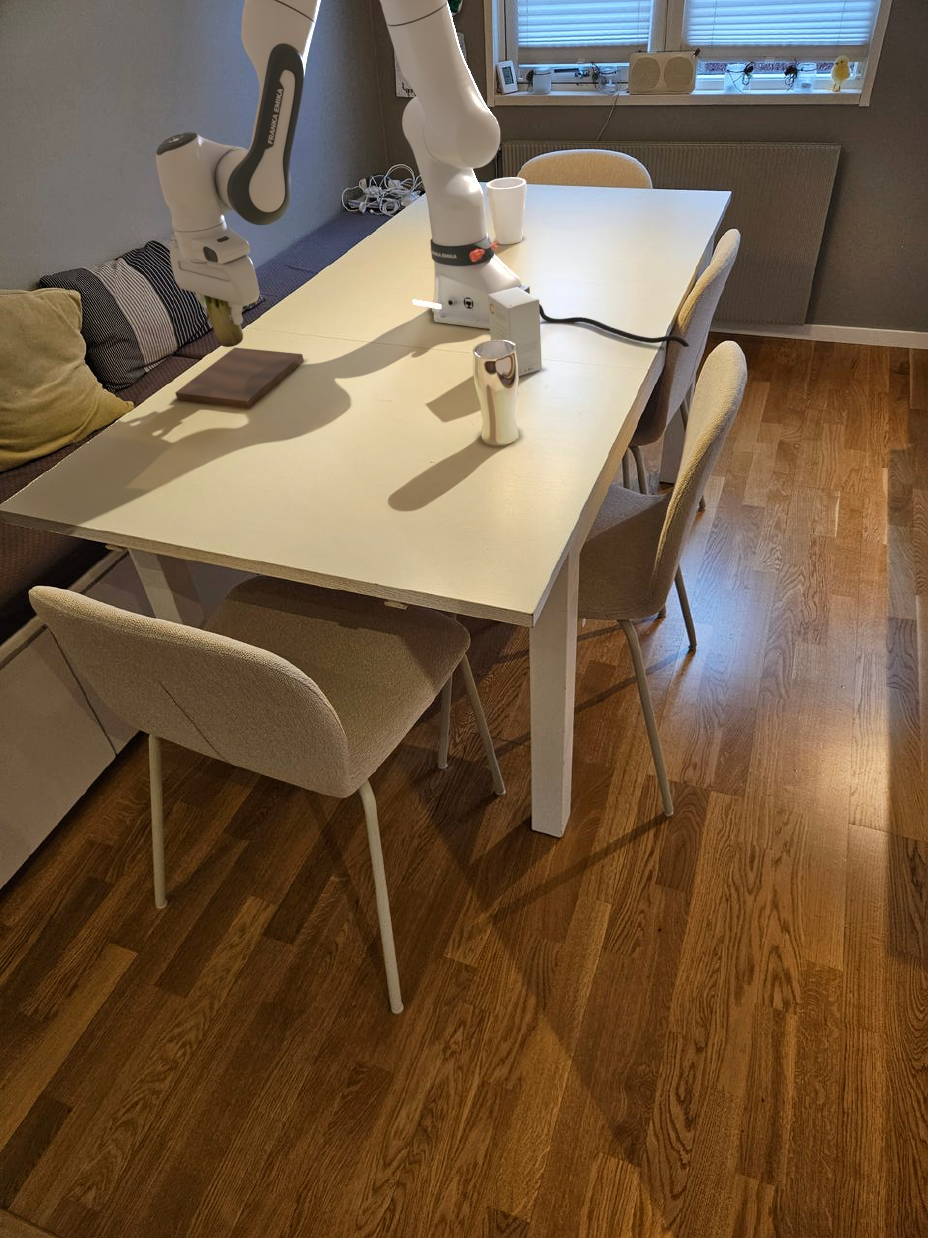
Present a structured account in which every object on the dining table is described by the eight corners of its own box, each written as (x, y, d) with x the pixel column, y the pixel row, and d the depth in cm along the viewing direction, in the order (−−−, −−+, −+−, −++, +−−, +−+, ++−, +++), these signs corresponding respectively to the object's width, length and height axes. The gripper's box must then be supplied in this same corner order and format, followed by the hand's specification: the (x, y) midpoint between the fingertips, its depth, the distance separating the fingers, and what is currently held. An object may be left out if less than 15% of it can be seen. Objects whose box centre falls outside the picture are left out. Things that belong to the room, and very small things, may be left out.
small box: (542, 369, 158) (540, 299, 150) (512, 379, 156) (508, 308, 148) (521, 354, 164) (517, 285, 155) (491, 363, 162) (486, 294, 154)
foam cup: (535, 235, 214) (533, 178, 206) (516, 247, 209) (513, 189, 200) (502, 232, 219) (498, 176, 210) (483, 244, 213) (479, 187, 205)
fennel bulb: (213, 343, 162) (194, 278, 155) (236, 335, 164) (219, 271, 157) (226, 352, 159) (208, 286, 151) (250, 343, 161) (233, 278, 153)
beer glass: (476, 428, 144) (469, 342, 134) (518, 423, 144) (513, 336, 134) (481, 449, 139) (473, 361, 129) (524, 444, 139) (519, 355, 129)
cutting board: (236, 354, 176) (234, 347, 175) (304, 360, 171) (302, 353, 170) (177, 399, 162) (174, 392, 162) (248, 408, 157) (246, 401, 156)
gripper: (153, 238, 153) (176, 315, 162) (225, 255, 143) (246, 336, 152) (182, 227, 157) (203, 303, 166) (255, 243, 146) (273, 323, 155)
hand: (224, 319), depth 159 cm, fingers closed on fennel bulb, 6 cm apart
